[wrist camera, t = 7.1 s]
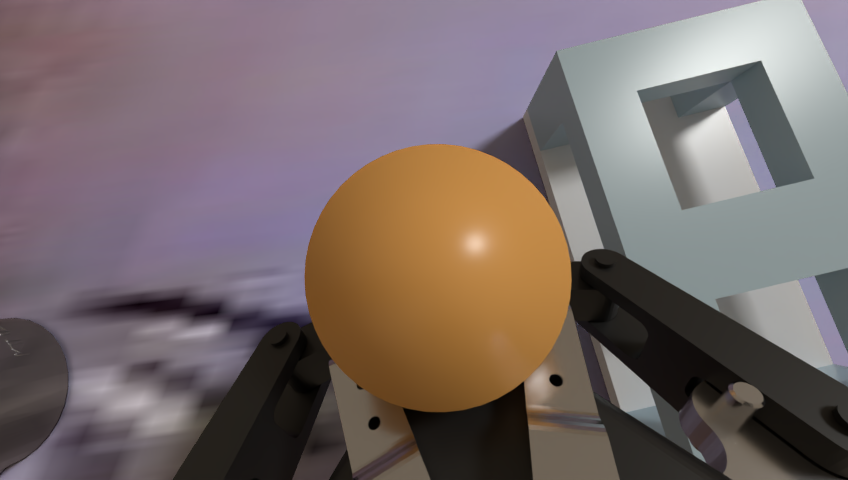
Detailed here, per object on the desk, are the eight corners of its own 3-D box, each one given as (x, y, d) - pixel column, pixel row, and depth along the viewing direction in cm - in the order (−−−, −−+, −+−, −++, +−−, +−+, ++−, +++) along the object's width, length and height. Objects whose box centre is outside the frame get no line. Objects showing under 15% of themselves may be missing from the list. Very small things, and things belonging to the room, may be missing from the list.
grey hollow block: (833, 413, 17) (1037, 479, 12) (628, 460, 18) (725, 550, 12) (694, 75, 21) (797, -9, 15) (522, 117, 21) (556, 51, 15)
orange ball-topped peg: (454, 334, 19) (502, 467, 5) (384, 297, 20) (256, 329, 6) (488, 262, 20) (613, 210, 6) (419, 228, 20) (380, 106, 6)
